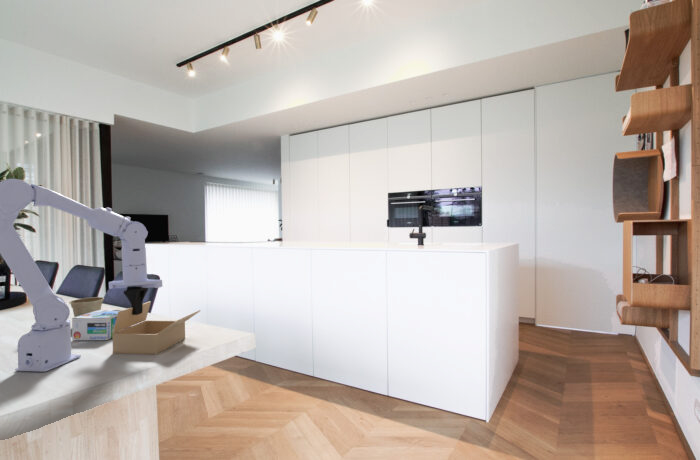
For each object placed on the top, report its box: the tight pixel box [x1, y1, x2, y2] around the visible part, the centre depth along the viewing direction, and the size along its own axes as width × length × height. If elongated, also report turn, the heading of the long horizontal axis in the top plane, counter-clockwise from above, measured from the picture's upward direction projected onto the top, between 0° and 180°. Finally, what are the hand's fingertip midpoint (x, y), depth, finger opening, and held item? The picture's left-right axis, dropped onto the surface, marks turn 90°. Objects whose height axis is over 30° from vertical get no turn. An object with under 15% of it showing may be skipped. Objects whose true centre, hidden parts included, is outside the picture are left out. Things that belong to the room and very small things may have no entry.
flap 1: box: [112, 300, 152, 333], centre depth 98 cm, size 12×6×1 cm
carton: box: [112, 319, 186, 355], centre depth 98 cm, size 13×12×5 cm
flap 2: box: [157, 309, 201, 335], centre depth 97 cm, size 12×6×1 cm
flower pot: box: [68, 296, 105, 318], centre depth 119 cm, size 9×9×9 cm
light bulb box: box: [71, 309, 129, 341], centre depth 108 cm, size 11×7×11 cm
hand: (137, 314), depth 98 cm, fingers closed, pressing on flap 1
